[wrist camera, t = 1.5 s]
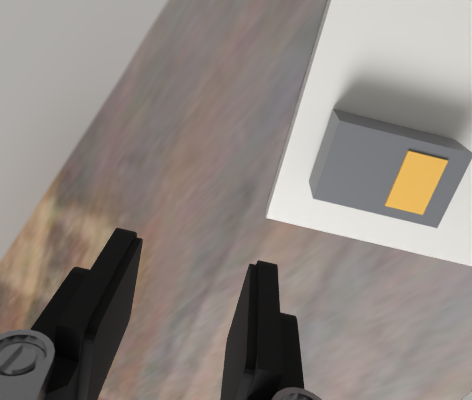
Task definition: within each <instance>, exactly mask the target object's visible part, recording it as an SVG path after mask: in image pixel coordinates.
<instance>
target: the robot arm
mask: <svg viewBox="0 0 472 400" xmlns="http://www.w3.org/2000/svg"><path fill="white" fill-rule="evenodd" d="M136 237H137V233H136V232H133V231H129V230H125V229H120V228H116V229H115V231H114V232H113V234H112V236H111V237H110V239H109V240H108V242H107V244H106V245H105V247H104V249H103V250H102V252H101V253H100V255H99V257H98V258H97V260H96V261H95V263H94V265H93V266H92V268H91V269H90V270H88V269H84V268H80V267H74V268H73V269H72V270H71V271H70V273H69V274H68V276H67V277H66V279H65V280H64V282H63V283H62V284H61V286H60V287H59V289H58V290H57V292H56V293H55V295H54V296H53V297H52V299H51V300H50V302H49V303H48V305H47V306H46V308H45V309H44V310H43V312H42V313H41V315H40V316H39V318H38V319H37V321H36V322H35V324H34V325H33V326H32V328H31V329H30V330H22V329H19V330H13V331H8V332H5V333H3V334H0V400H97V399H98V396H99V394H100V391H101V389H102V386H103V384H104V382H105V379H106V377H107V374H108V372H109V369H110V367H111V364H112V362H113V359H114V357H115V355H116V352H117V350H118V347H119V345H120V342H121V340H122V337H123V335H124V332H125V330H126V328H127V325H128V322H129V319H130V315H131V309H132V303H133V297H134V291H135V285H136V279H137V273H138V267H139V261H140V255H141V249H142V242H143V239H141V238H136ZM220 400H322V399H320V398H319V397H318V396H316V395H315V394H313V393H312V392H309V391H307V390H305V389H304V381H303V372H302V362H301V353H300V343H299V334H298V324H297V318H296V317H295V316H293V315H289V314H284V313H280V303H279V285H278V267H277V264H272V263H268V262H264V261H259V260H258V261H257V264H256V265H254V264H249V267H248V270H247V273H246V277H245V280H244V284H243V287H242V290H241V294H240V297H239V301H238V304H237V307H236V311H235V314H234V317H233V321H232V324H231V328H230V331H229V334H228V338H227V343H226V351H225V361H224V370H223V380H222V389H221V399H220Z"/></svg>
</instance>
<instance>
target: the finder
mask: <svg viewBox="0 0 472 400" xmlns="http://www.w3.org/2000/svg"><path fill="white" fill-rule="evenodd" d="M471 159H472V152H471V151H470V150H468V149H467V148H466V147H464V146H463V145H462V144H460V143H459V142H458V141H456V140H455V139H451V138H447V137H443V136H439V135H435V134H431V133H427V132H423V131H419V130H415V129H411V128H407V127H403V126H399V125H395V124H391V123H387V122H383V121H379V120H375V119H371V118H367V117H363V116H359V115H355V114H351V113H347V112H343V111H339V110H335V109H332V112H331V115H330V118H329V121H328V124H327V127H326V130H325V133H324V136H323V139H322V142H321V145H320V148H319V151H318V154H317V157H316V160H315V163H314V166H313V169H312V172H311V175H310V178H309V185H310V189H311V193H312V197H313V199H317V200H321V201H325V202H329V203H333V204H338V205H342V206H346V207H350V208H354V209H358V210H363V211H367V212H371V213H375V214H379V215H384V216H388V217H392V218H396V219H400V220H405V221H409V222H413V223H417V224H421V225H425V226H430V227H434V228H438V226H439V224H440V222H441V220H442V218H443V216H444V214H445V212H446V210H447V208H448V206H449V204H450V202H451V200H452V198H453V196H454V194H455V192H456V190H457V188H458V186H459V184H460V182H461V180H462V178H463V176H464V174H465V172H466V170H467V168H468V166H469V164H470V162H471Z"/></svg>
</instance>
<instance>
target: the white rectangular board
mask: <svg viewBox="0 0 472 400" xmlns="http://www.w3.org/2000/svg"><path fill="white" fill-rule="evenodd" d="M332 109H335V110H339V111H343V112H347V113H351V114H355V115H359V116H363V117H367V118H371V119H375V120H379V121H383V122H387V123H391V124H395V125H399V126H403V127H407V128H411V129H415V130H419V131H423V132H427V133H431V134H435V135H439V136H443V137H447V138H451V139H455V140H456V141H458V142H459V143H460V144H462V145H463V146H464V147H466V148H467V149H468V150H470V151H471V152H472V0H328V1H327V4H326V8H325V11H324V14H323V18H322V21H321V24H320V28H319V31H318V35H317V38H316V41H315V45H314V48H313V51H312V55H311V58H310V62H309V65H308V68H307V72H306V75H305V78H304V82H303V85H302V89H301V92H300V95H299V99H298V102H297V105H296V109H295V112H294V116H293V119H292V122H291V126H290V129H289V132H288V136H287V139H286V143H285V146H284V149H283V153H282V156H281V159H280V163H279V166H278V170H277V173H276V176H275V180H274V183H273V186H272V190H271V193H270V196H269V200H268V203H267V207H266V218H269V219H273V220H278V221H282V222H286V223H290V224H295V225H299V226H303V227H307V228H312V229H316V230H320V231H324V232H329V233H333V234H337V235H341V236H346V237H350V238H354V239H358V240H363V241H367V242H371V243H375V244H380V245H384V246H388V247H392V248H397V249H401V250H405V251H409V252H414V253H418V254H422V255H426V256H431V257H435V258H439V259H443V260H448V261H452V262H456V263H460V264H465V265H469V266H472V159H471V162H470V164H469V166H468V168H467V170H466V172H465V174H464V176H463V178H462V180H461V182H460V184H459V186H458V188H457V190H456V192H455V194H454V196H453V198H452V200H451V202H450V204H449V206H448V208H447V210H446V212H445V214H444V216H443V218H442V220H441V222H440V224H439V226H438V228H434V227H430V226H425V225H421V224H417V223H413V222H409V221H405V220H400V219H396V218H392V217H388V216H384V215H379V214H375V213H371V212H367V211H363V210H358V209H354V208H350V207H346V206H342V205H338V204H333V203H329V202H325V201H321V200H317V199H313V197H312V193H311V189H310V185H309V178H310V175H311V172H312V169H313V166H314V163H315V160H316V157H317V154H318V151H319V148H320V145H321V142H322V139H323V136H324V133H325V130H326V127H327V124H328V121H329V118H330V115H331V112H332Z"/></svg>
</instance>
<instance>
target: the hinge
mask: <svg viewBox="0 0 472 400" xmlns="http://www.w3.org/2000/svg"><path fill="white" fill-rule="evenodd" d="M462 400H472V391H471V392H470V393H469V394H468V395H467V396H465V397H464V398H463V399H462Z"/></svg>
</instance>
